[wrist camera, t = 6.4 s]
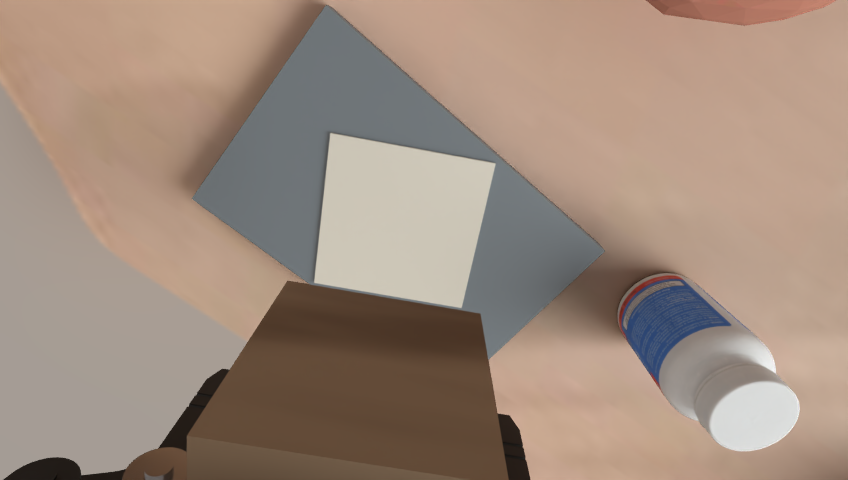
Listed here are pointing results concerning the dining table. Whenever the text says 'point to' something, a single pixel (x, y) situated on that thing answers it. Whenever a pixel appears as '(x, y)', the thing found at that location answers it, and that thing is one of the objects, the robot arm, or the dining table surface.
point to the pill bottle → (707, 362)
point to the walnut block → (353, 395)
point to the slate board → (390, 191)
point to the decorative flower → (738, 9)
